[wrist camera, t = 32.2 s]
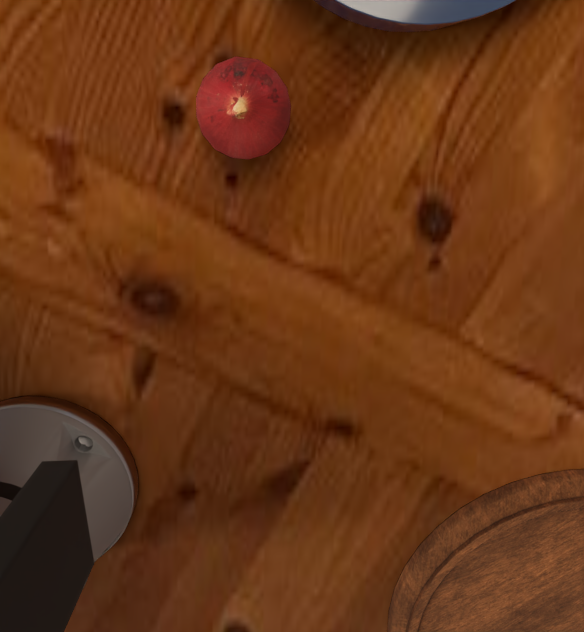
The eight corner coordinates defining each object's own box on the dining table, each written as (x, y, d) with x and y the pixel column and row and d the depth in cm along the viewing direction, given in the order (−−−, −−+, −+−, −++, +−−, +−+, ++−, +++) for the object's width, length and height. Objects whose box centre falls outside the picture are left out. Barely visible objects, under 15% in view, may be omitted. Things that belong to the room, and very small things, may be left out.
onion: (206, 62, 35) (186, 38, 28) (293, 71, 36) (297, 49, 28) (203, 153, 37) (183, 154, 29) (285, 161, 37) (287, 164, 30)
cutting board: (318, 606, 49) (320, 630, 47) (618, 399, 43) (638, 413, 41) (509, 783, 57) (519, 811, 54) (785, 625, 51) (811, 649, 49)
